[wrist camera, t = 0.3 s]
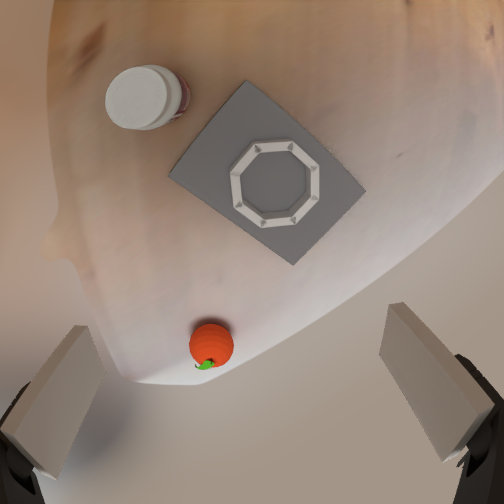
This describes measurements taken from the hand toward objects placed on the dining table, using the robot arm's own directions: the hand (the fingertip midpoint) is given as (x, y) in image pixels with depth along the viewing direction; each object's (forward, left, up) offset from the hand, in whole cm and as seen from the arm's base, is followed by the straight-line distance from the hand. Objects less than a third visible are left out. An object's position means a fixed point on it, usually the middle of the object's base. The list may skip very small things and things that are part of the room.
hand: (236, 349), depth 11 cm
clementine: (+22, +13, -25) cm, 36 cm away
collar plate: (-3, +4, -25) cm, 26 cm away
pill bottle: (-3, -12, -25) cm, 28 cm away
